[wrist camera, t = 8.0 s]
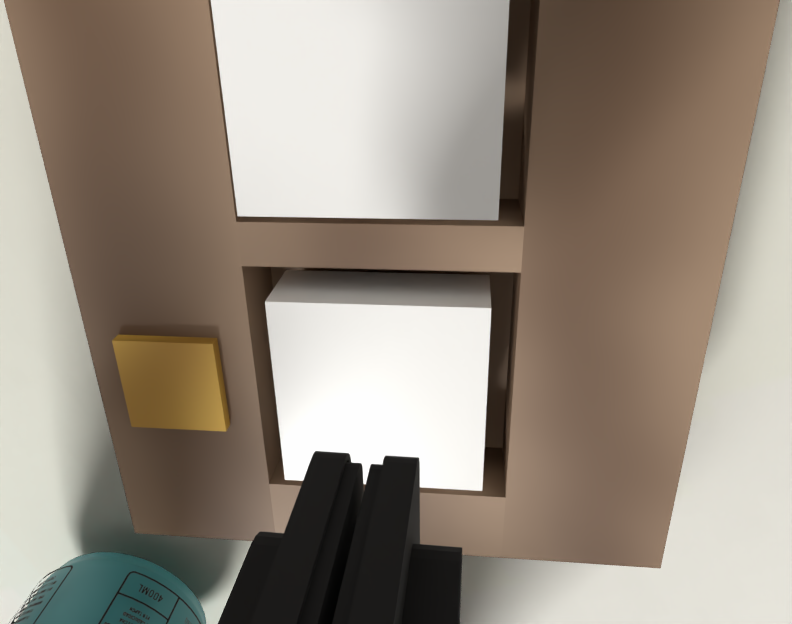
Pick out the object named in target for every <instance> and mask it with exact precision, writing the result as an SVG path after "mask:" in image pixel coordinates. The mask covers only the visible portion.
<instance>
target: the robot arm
mask: <svg viewBox="0 0 792 624" xmlns="http://www.w3.org/2000/svg"><path fill="white" fill-rule="evenodd" d="M461 573H462V547H450V546H437V545H425V544H420V462H419V458H418V457H402V456H387V455H385V457H384V460H383V464H371V465H370V469H369V473H368V477H367V481H366V485H365V489H364V483H363V467H362V464H361V463H353V462H351V457H350V454H349V453H340V452H325V451H315V452H314V453H313V456H312V458H311V461H310V463H309V466H308V469H307V472H306V474H305V477H304V480H303V482H302V485H301V488H300V491H299V493H298V496H297V499H296V502H295V504H294V507H293V510H292V512H291V515H290V518H289V521H288V523H287V526H286V529H285V531H284V533H275V532H259V533H258V534H257V535H256V536H255V538H254V540H253V542H252V543H251V546H250V548H249V551H248V553H247V555H246V558H245V560H244V563H243V565H242V567H241V570H240V572H239V574H238V577H237V579H236V582H235V584H234V586H233V589H232V591H231V594H230V596H229V598H228V601H227V603H226V606H225V608H224V610H223V613H222V615H221V618H220V620H219V622H218V624H460V600H461Z"/></svg>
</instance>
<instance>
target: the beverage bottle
mask: <svg viewBox="0 0 792 624" xmlns="http://www.w3.org/2000/svg"><path fill="white" fill-rule="evenodd" d="M55 571H56V572H55ZM55 571H53V572H54V573H53V572H51V573H53V574H52V575H51V576H50V577H49V578H48V579H47V580H46V581H44V583H43V582H42V583H43V585H42V583H41V584H40V585H42V586H41V587H40V588H38V587H37V588H38V589H37V590H35V591H34V592H33V591H32V592H33V593H35V592H36V591H38V592H37V593H36V594H35V595H33V599H32V600H31V602H30V599H31V598H32V596H31V595H32V594H33V593H32V594H31V593H30V594H31V595H30V598H29V599H27V600H29V602H28V603H26V605H27V604H28V606H27V607H25V608H23V607H24V606H25V605H23V604H22V605H23V606H22V608H21V609H23V610H21V611H20V612H22V614H21V613H20V612H18V611H17V612H18V613H20V615H21V616H20V615H19V618H18V616H17V618H18V620H17V621H16V622H14V620H13V621H12V623H11V624H206V618H205V614H204V611H203V609H202V606H201V604H200V602H199V601H198V599H197V597H196V596H195V595H194V593H193V592H192V591H191V590H190V589H189V588H188V586H187V585H186V584H184V583H183V582H182V581H181V580H180V579H179V578H177V577H176V576H175V575H173V574H172V573H170V572H169V571H167V570H165V569H164V568H162V567H160V566H158V565H156V564H154V563H152V562H150V561H147V560H145V559H142V558H139V557H135V556H132V555H127V554H122V553H114V552H97V553H90V554H85V555H82V556H79V557H76V558H74V559H72V560H70V561H68V562H67V563H66V564H64V565H63V566H62V567H60V568H59V569H57V570H55ZM51 573H49V574H51ZM49 574H48V575H49ZM46 576H47V575H46ZM46 576H45V577H46ZM45 577H44V578H45ZM40 585H39V586H40ZM33 590H34V589H33ZM27 600H25V601H27ZM18 613H17V614H18ZM17 614H16V615H17ZM14 616H15V615H14ZM17 618H15V617H14V619H17ZM12 619H13V618H12ZM9 623H10V622H9Z"/></svg>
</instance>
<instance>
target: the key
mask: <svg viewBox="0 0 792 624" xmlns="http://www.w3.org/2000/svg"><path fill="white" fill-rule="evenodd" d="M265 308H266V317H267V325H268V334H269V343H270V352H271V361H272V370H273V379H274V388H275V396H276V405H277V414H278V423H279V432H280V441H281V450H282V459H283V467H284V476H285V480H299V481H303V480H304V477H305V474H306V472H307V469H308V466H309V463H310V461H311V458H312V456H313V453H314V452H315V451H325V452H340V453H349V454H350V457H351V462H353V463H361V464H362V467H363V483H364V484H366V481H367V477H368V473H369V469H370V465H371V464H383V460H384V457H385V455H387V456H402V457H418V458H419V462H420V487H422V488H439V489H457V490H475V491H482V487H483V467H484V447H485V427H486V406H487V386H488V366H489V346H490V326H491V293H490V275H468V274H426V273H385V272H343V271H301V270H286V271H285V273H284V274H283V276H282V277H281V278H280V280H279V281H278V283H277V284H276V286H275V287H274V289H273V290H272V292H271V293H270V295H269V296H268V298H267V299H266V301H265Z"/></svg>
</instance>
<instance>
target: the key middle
mask: <svg viewBox="0 0 792 624" xmlns="http://www.w3.org/2000/svg"><path fill="white" fill-rule="evenodd" d="M509 1H510V0H211V6H212V14H213V22H214V31H215V39H216V47H217V55H218V63H219V71H220V79H221V87H222V95H223V103H224V111H225V119H226V127H227V135H228V143H229V151H230V159H231V167H232V175H233V183H234V191H235V199H236V207H237V215H238V216H251V217H316V218H380V219H445V220H498V215H499V196H500V176H501V157H502V137H503V118H504V98H505V79H506V59H507V40H508V20H509Z"/></svg>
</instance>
